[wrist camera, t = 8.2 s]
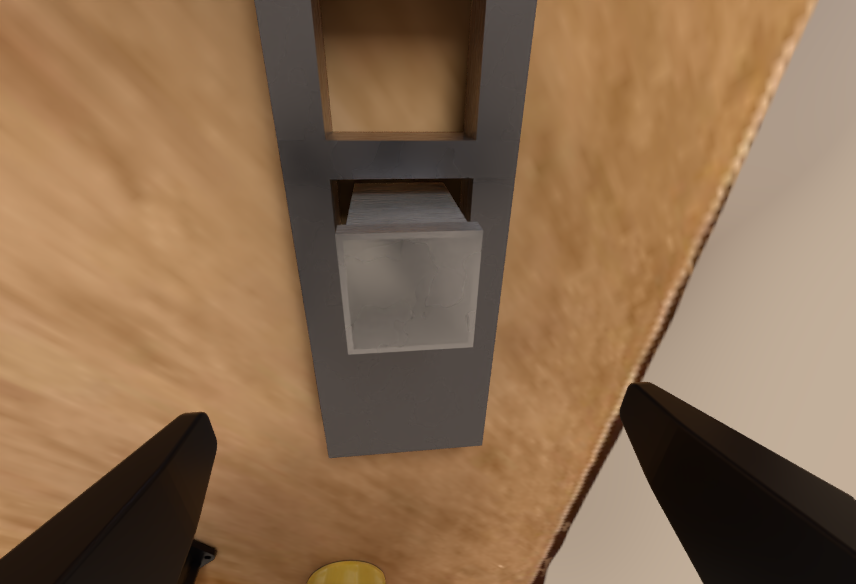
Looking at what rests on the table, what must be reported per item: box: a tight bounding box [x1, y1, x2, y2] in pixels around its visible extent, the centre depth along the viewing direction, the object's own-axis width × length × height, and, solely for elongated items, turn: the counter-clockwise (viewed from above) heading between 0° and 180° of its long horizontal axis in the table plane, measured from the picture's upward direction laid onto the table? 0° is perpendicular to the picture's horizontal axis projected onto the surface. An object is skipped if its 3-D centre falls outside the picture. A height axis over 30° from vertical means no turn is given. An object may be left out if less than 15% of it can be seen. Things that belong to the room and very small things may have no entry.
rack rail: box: [254, 0, 537, 458], centre depth 18 cm, size 26×9×2 cm, turn 179°
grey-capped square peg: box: [335, 182, 483, 355], centre depth 16 cm, size 4×4×7 cm
